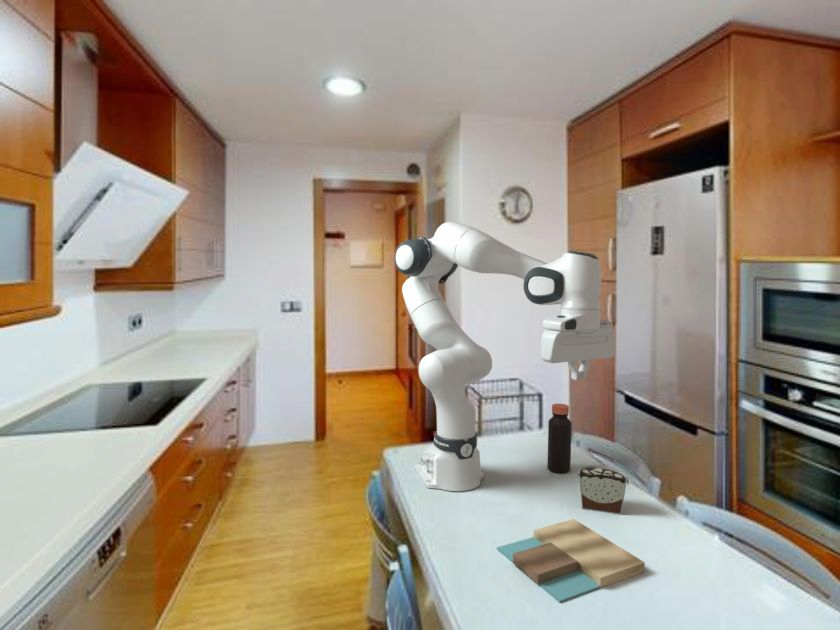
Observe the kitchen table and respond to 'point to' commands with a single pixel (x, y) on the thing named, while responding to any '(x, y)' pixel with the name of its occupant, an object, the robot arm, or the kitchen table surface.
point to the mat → (559, 586)
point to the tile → (545, 562)
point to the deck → (591, 552)
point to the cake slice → (602, 488)
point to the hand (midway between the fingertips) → (578, 378)
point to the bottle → (559, 439)
